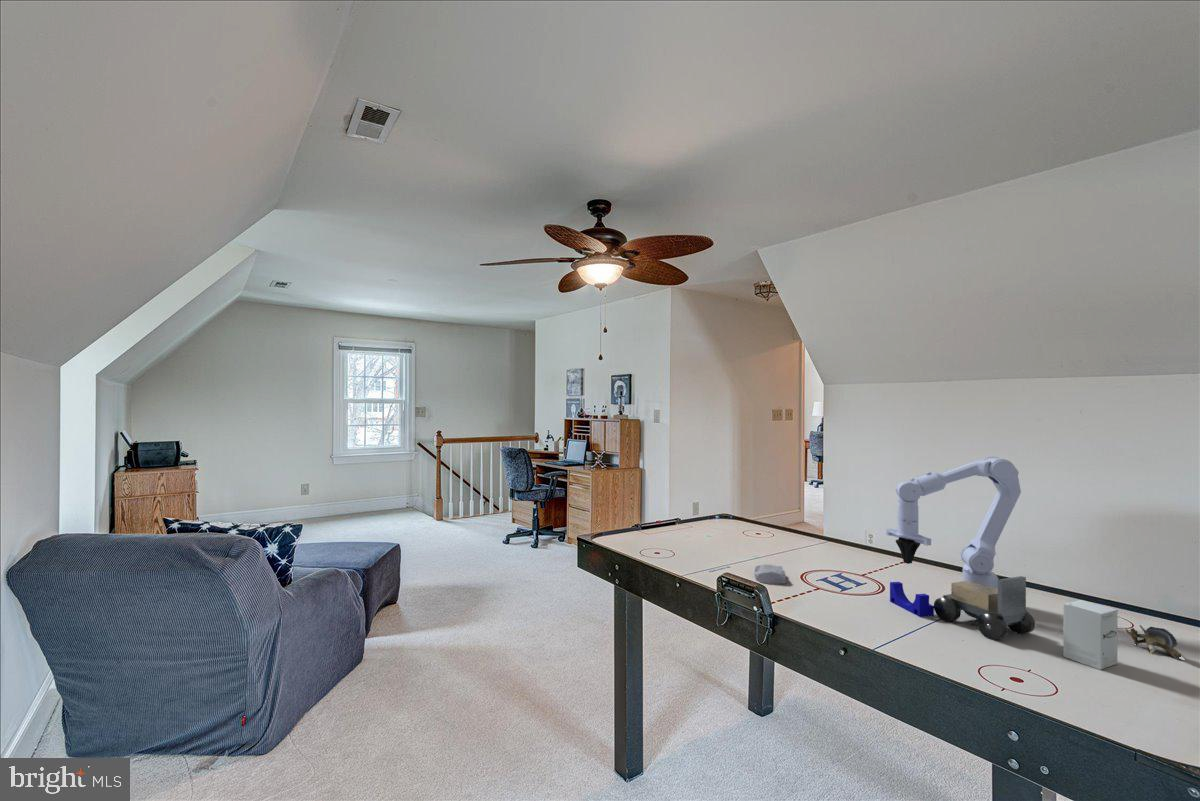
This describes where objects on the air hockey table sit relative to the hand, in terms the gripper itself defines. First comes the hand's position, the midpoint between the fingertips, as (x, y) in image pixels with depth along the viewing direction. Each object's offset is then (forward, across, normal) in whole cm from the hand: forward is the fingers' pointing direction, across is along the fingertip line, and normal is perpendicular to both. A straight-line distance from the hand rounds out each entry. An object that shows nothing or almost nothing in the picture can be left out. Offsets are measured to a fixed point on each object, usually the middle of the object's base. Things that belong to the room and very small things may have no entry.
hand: (907, 562), depth 169 cm
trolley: (+9, +26, -4) cm, 28 cm away
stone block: (+10, -26, -33) cm, 43 cm away
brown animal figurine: (+10, +50, +21) cm, 55 cm away
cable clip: (+10, +10, -11) cm, 18 cm away
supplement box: (+10, +48, 0) cm, 49 cm away
